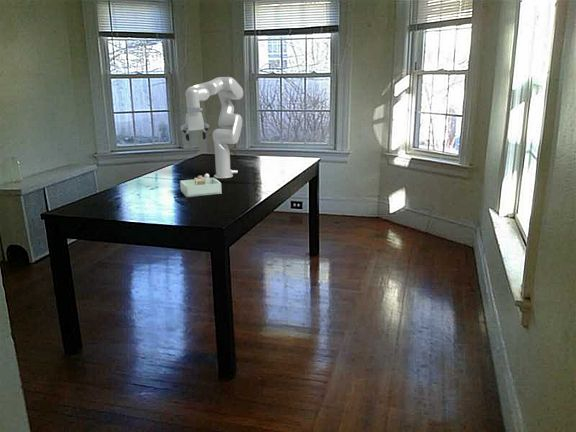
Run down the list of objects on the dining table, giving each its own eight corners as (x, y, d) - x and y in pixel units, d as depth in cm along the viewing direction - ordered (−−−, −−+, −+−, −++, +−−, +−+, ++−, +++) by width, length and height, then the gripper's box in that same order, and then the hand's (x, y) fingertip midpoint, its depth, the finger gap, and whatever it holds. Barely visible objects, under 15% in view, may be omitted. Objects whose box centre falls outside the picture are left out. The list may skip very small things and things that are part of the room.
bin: (214, 187, 311) (213, 177, 310) (221, 193, 295) (221, 183, 294) (180, 190, 304) (179, 180, 303) (186, 197, 288) (185, 186, 287)
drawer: (195, 189, 301) (194, 175, 299) (204, 189, 303) (203, 174, 301) (197, 191, 296) (196, 177, 294) (206, 190, 298) (205, 176, 296)
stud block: (216, 182, 327) (215, 171, 325) (220, 185, 316) (220, 174, 314) (194, 184, 322) (193, 172, 320) (198, 187, 311) (197, 176, 309)
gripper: (206, 109, 310) (208, 137, 316) (177, 111, 304) (180, 140, 309) (209, 110, 304) (212, 139, 309) (180, 112, 297) (183, 142, 303)
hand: (196, 139), depth 309 cm, fingers open, 9 cm apart
